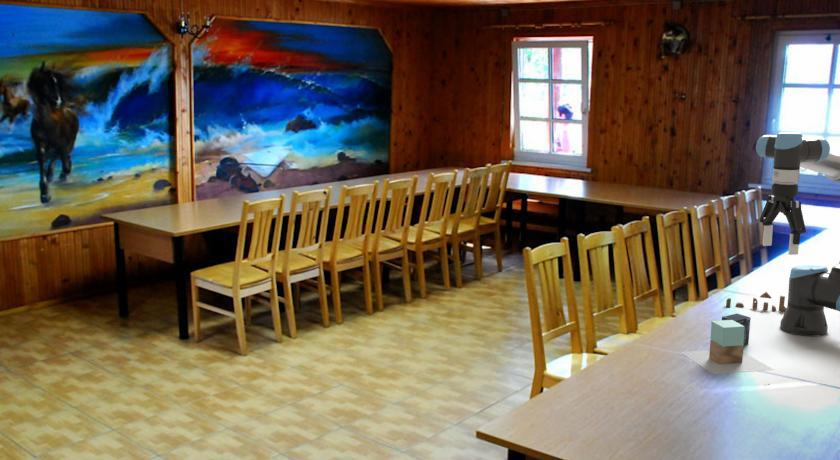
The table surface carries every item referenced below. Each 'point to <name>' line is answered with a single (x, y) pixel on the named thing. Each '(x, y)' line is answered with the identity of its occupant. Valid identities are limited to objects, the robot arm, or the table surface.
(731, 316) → the box
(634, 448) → the table surface
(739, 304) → the wooden blocks
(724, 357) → the base brick
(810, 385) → the table surface
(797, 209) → the robot arm
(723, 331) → the teal brick
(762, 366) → the board
